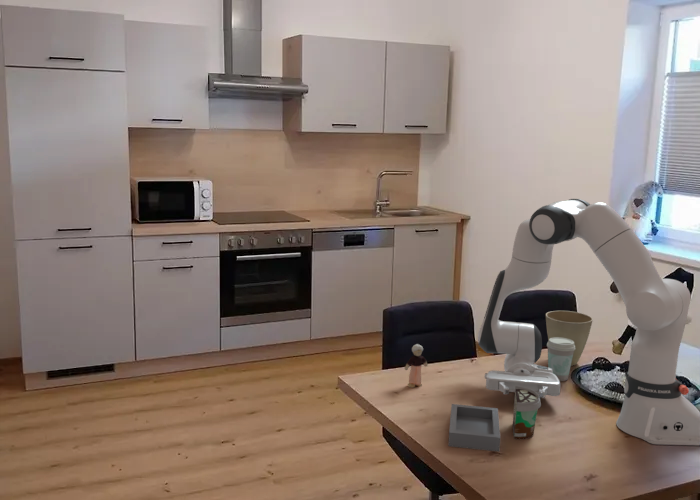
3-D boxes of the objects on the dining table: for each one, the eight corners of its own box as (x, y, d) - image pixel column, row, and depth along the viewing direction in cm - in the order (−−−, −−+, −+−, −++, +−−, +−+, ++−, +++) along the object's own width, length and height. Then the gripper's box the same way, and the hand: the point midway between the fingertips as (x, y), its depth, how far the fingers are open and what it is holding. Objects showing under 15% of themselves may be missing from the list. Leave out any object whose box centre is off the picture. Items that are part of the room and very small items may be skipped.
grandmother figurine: (411, 389, 199) (413, 348, 197) (402, 385, 202) (404, 344, 200) (429, 384, 204) (431, 343, 202) (420, 380, 207) (422, 340, 205)
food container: (540, 444, 166) (543, 405, 164) (514, 441, 167) (517, 403, 166) (536, 424, 178) (539, 387, 176) (512, 421, 179) (515, 385, 178)
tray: (496, 420, 179) (497, 408, 179) (499, 451, 162) (500, 437, 161) (450, 416, 181) (451, 403, 181) (448, 446, 164) (449, 432, 163)
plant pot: (541, 353, 237) (545, 308, 234) (586, 358, 233) (591, 313, 231) (541, 366, 223) (545, 319, 220) (589, 372, 219) (594, 324, 216)
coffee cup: (542, 379, 211) (545, 342, 209) (545, 371, 219) (548, 335, 217) (571, 384, 208) (574, 346, 206) (573, 375, 216) (577, 339, 214)
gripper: (485, 362, 199) (485, 378, 186) (557, 368, 196) (563, 385, 182) (483, 383, 200) (484, 400, 187) (555, 389, 197) (561, 408, 183)
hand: (524, 393), depth 184 cm, fingers open, 8 cm apart
